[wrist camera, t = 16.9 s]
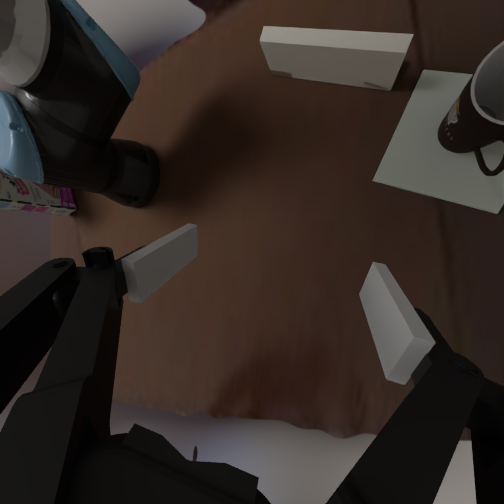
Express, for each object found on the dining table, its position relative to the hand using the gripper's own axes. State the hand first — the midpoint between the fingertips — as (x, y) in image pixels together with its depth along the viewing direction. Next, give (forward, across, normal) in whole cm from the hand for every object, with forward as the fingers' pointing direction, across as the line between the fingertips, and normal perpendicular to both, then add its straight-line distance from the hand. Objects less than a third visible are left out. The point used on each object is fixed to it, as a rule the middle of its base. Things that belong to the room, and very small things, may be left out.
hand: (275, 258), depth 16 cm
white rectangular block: (+31, 0, +19) cm, 37 cm away
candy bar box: (+32, -66, -11) cm, 74 cm away
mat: (+26, +20, +11) cm, 34 cm away
